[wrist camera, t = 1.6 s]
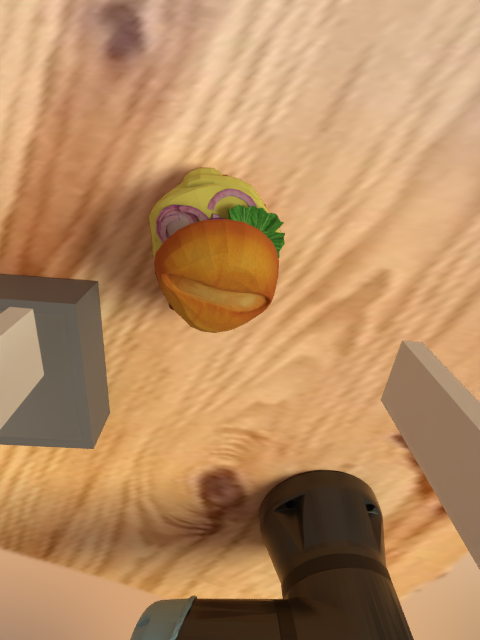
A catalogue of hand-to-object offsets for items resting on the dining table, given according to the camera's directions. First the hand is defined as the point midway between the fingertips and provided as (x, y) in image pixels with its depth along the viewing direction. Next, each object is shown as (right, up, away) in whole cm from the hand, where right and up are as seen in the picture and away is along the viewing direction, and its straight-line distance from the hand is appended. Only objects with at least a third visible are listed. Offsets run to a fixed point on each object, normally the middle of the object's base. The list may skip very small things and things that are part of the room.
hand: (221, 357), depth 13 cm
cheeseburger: (-1, +8, +17) cm, 19 cm away
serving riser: (-20, -1, +21) cm, 29 cm away
